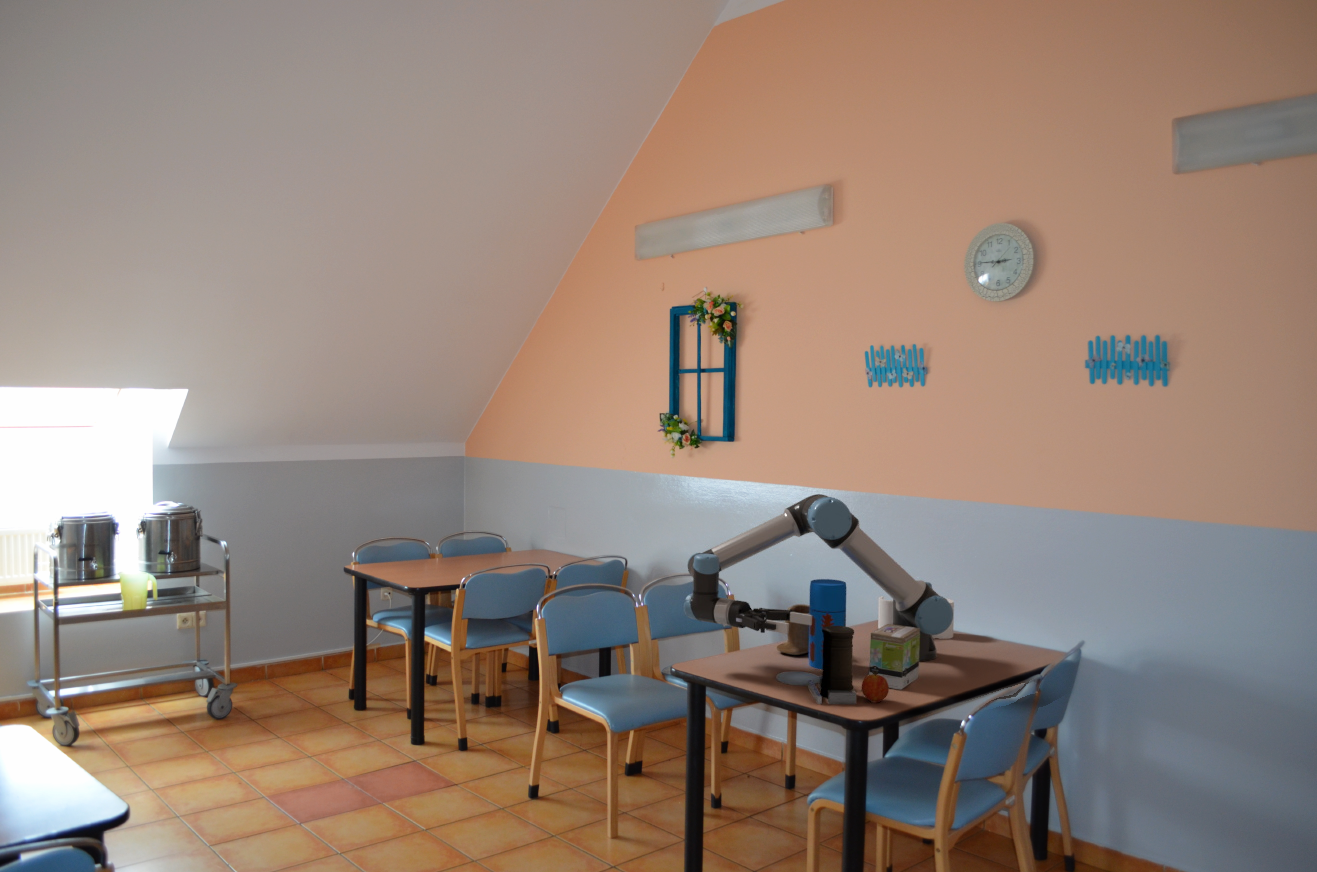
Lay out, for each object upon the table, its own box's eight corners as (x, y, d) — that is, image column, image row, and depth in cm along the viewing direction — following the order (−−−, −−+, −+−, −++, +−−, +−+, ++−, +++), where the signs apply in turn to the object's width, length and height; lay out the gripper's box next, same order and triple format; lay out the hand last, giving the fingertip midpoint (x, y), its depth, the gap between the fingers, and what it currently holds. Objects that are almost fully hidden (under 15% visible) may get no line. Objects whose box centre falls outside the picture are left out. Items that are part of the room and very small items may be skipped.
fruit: (855, 699, 250) (856, 669, 250) (875, 695, 254) (875, 666, 254) (874, 706, 245) (874, 675, 244) (894, 702, 248) (894, 672, 248)
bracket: (880, 636, 321) (880, 601, 321) (876, 630, 331) (877, 595, 330) (956, 639, 319) (956, 603, 318) (950, 632, 328) (950, 598, 328)
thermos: (844, 671, 277) (846, 586, 277) (807, 668, 279) (809, 584, 279) (845, 661, 288) (846, 579, 287) (809, 659, 290) (810, 578, 289)
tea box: (903, 690, 259) (904, 637, 258) (867, 684, 264) (868, 632, 264) (919, 678, 272) (920, 626, 271) (885, 672, 277) (886, 622, 277)
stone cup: (798, 660, 289) (799, 611, 289) (771, 652, 299) (771, 604, 298) (832, 652, 299) (833, 605, 298) (804, 645, 308) (805, 599, 308)
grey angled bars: (844, 687, 261) (844, 676, 261) (856, 704, 246) (856, 692, 246) (807, 687, 261) (808, 676, 261) (817, 703, 246) (817, 692, 246)
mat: (815, 673, 275) (815, 671, 275) (823, 685, 263) (823, 683, 263) (774, 673, 274) (774, 671, 274) (779, 685, 262) (779, 683, 262)
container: (854, 692, 257) (855, 625, 257) (853, 701, 248) (854, 633, 248) (820, 689, 259) (821, 623, 259) (818, 699, 250) (819, 631, 250)
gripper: (755, 618, 282) (820, 630, 270) (709, 633, 262) (777, 646, 250) (756, 593, 282) (820, 603, 269) (710, 606, 262) (777, 618, 249)
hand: (800, 624), depth 259 cm, fingers open, 13 cm apart
